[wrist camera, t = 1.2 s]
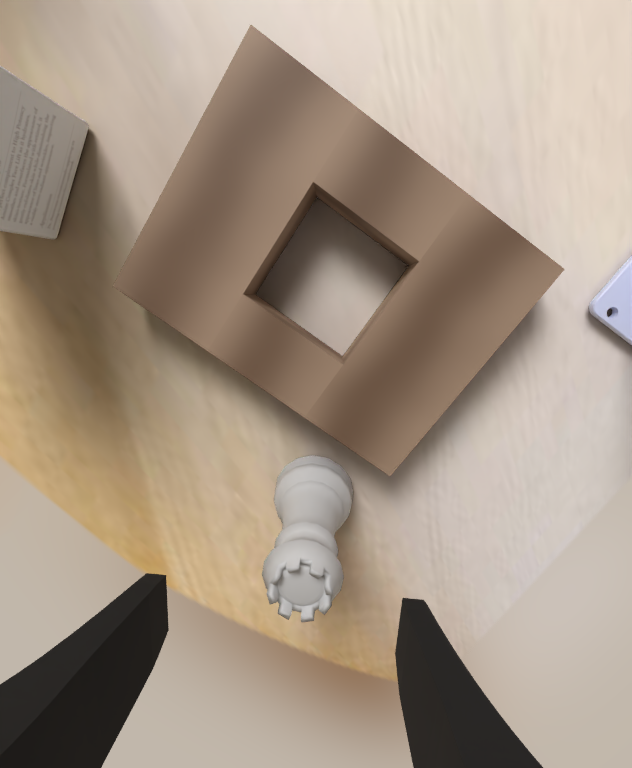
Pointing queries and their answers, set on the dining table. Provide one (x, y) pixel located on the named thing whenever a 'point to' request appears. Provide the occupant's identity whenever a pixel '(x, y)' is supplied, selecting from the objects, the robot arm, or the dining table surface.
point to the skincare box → (35, 158)
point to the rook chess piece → (308, 536)
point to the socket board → (363, 209)
